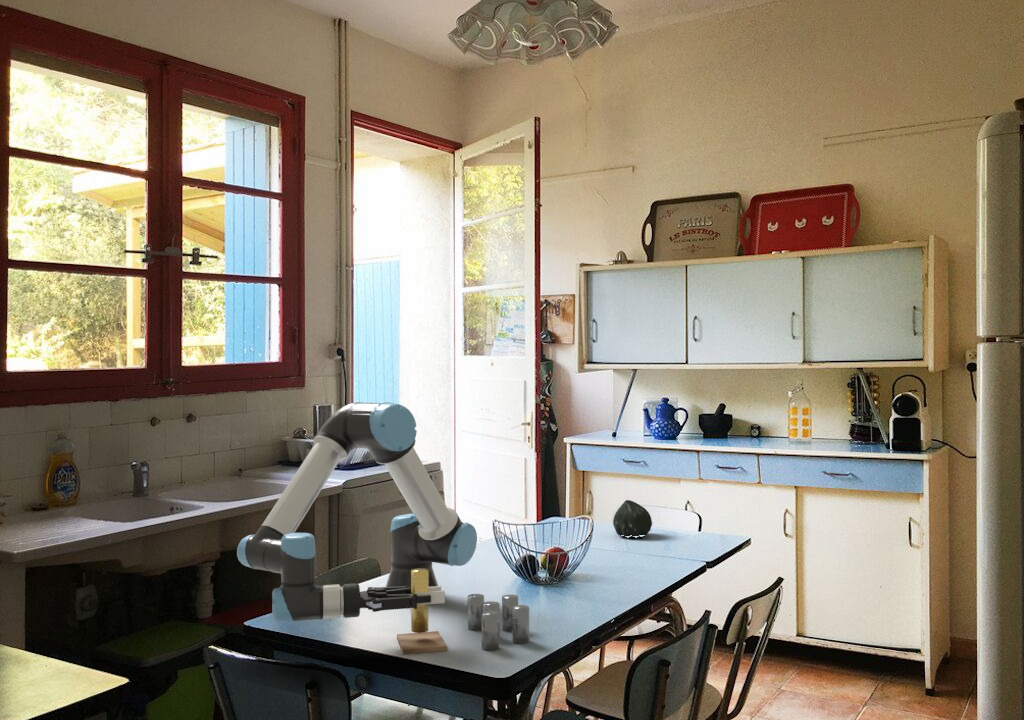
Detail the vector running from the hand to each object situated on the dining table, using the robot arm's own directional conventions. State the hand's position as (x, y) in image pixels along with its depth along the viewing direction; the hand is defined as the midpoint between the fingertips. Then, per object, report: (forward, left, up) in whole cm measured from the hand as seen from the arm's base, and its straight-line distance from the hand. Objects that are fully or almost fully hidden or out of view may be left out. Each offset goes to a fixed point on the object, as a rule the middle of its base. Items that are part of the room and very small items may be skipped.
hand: (442, 594), depth 206 cm
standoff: (0, -5, -8) cm, 10 cm away
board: (+1, -5, -11) cm, 12 cm away
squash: (-107, +92, -11) cm, 142 cm away
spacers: (0, +14, -11) cm, 18 cm away
